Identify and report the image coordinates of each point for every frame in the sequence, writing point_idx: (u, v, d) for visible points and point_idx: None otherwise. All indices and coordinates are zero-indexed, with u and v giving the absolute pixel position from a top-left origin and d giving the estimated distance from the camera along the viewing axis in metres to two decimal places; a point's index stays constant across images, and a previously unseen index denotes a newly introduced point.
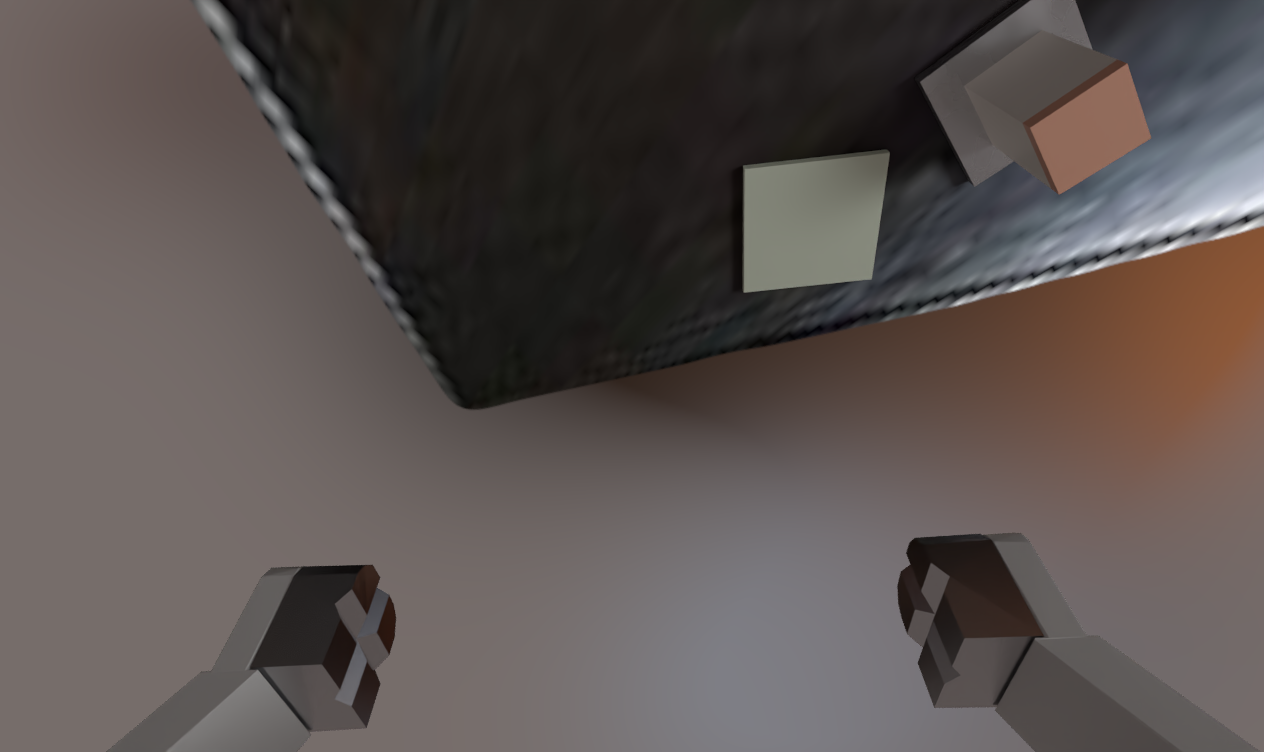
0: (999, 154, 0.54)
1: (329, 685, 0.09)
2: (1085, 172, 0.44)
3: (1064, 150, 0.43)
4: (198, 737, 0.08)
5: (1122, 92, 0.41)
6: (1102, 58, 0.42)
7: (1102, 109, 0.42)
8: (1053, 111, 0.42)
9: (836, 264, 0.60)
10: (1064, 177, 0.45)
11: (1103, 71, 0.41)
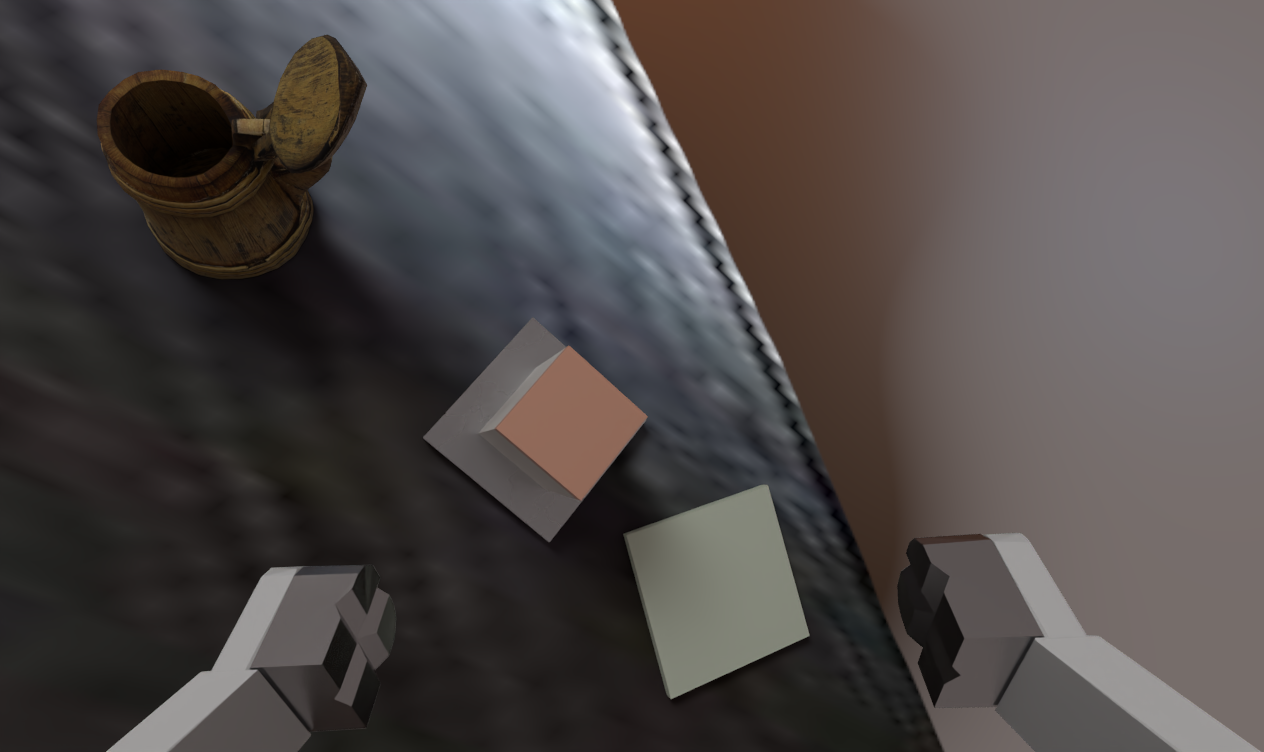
0: None
1: (329, 686, 0.09)
2: (618, 400, 0.36)
3: (598, 442, 0.36)
4: (198, 737, 0.08)
5: (526, 413, 0.35)
6: (495, 432, 0.36)
7: (547, 425, 0.35)
8: (559, 482, 0.35)
9: (758, 536, 0.50)
10: (627, 422, 0.36)
11: (508, 440, 0.35)
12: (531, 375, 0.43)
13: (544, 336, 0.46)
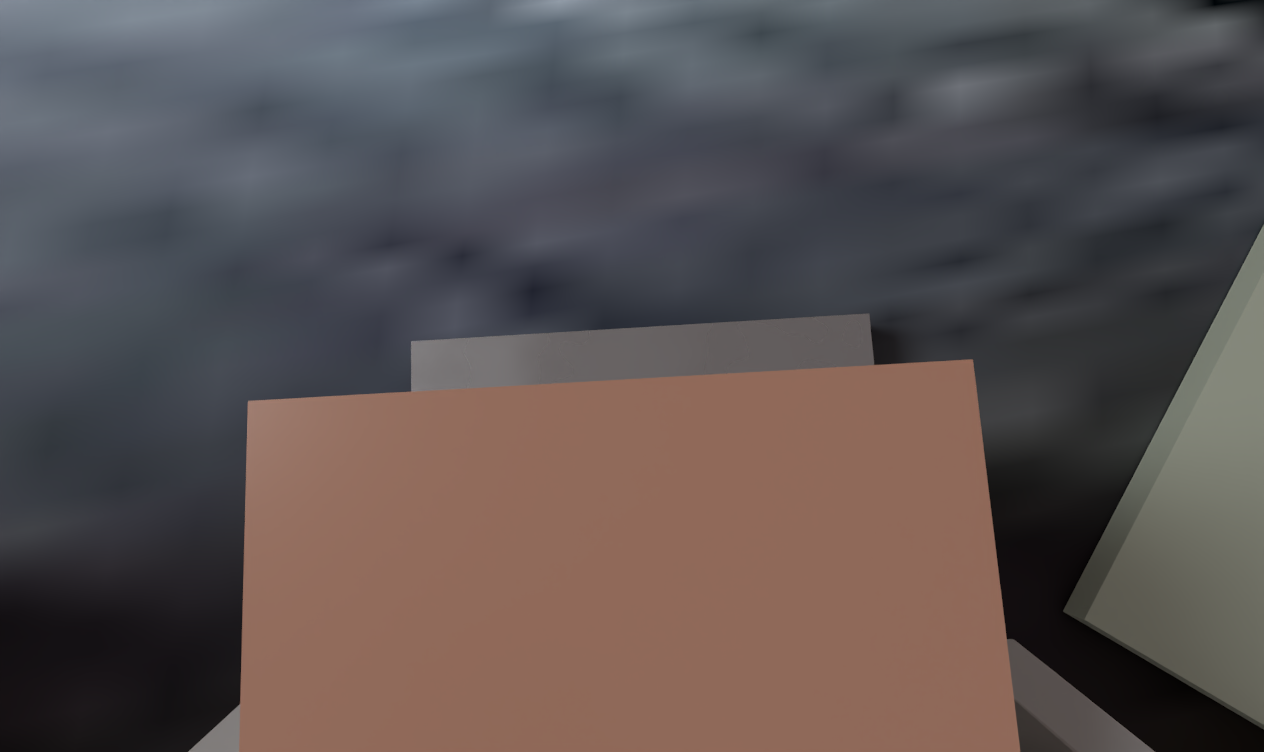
0: None
1: None
2: (738, 426, 0.05)
3: None
4: None
5: None
6: None
7: None
8: None
9: None
10: (900, 494, 0.05)
11: None
12: None
13: (471, 356, 0.16)
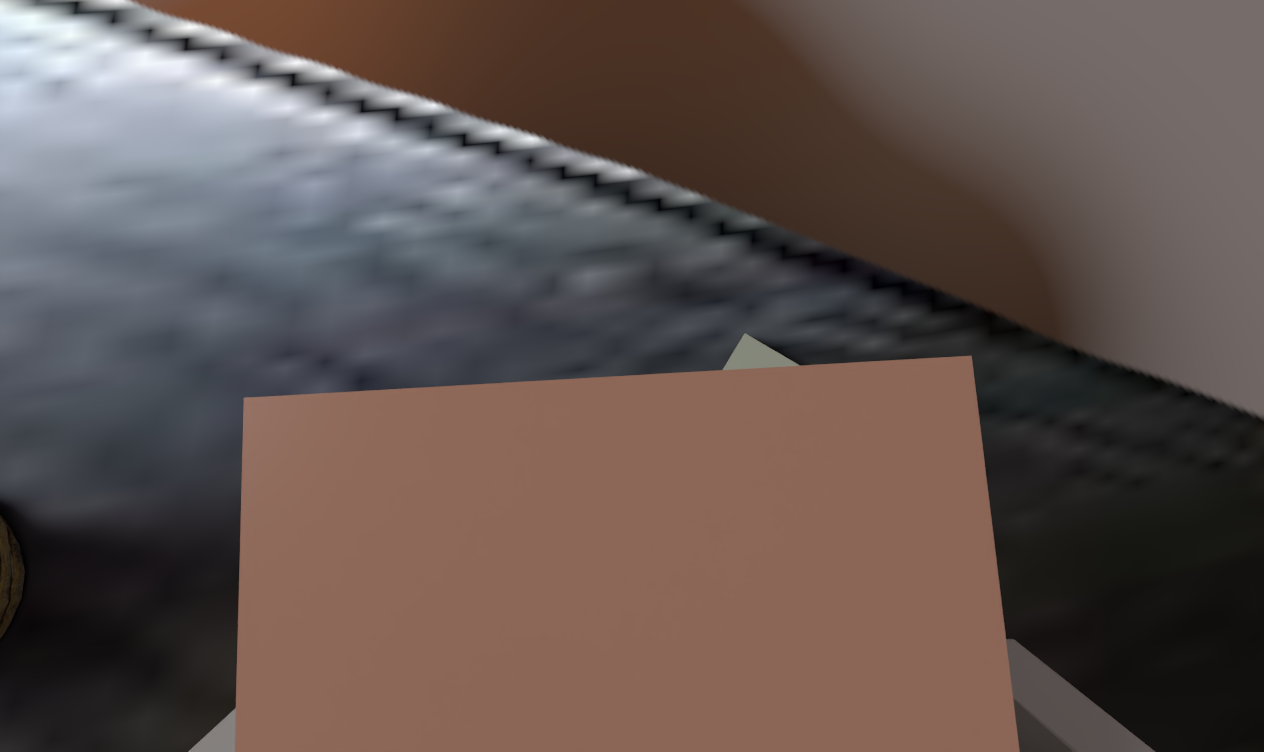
0: None
1: None
2: (735, 421, 0.05)
3: None
4: None
5: None
6: None
7: None
8: None
9: None
10: (898, 490, 0.05)
11: None
12: None
13: None
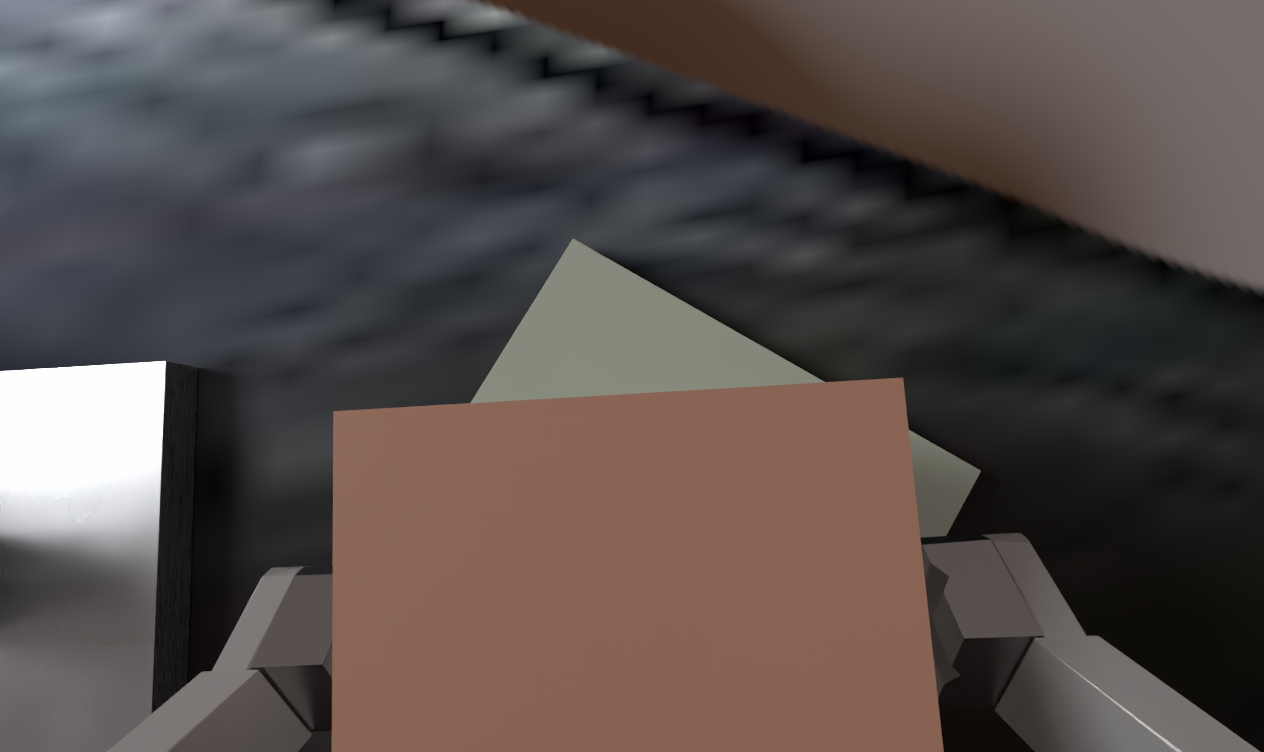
0: (67, 418, 0.17)
1: (329, 686, 0.09)
2: (719, 430, 0.07)
3: (805, 688, 0.06)
4: (199, 737, 0.08)
5: None
6: None
7: None
8: None
9: (645, 364, 0.17)
10: (845, 482, 0.07)
11: None
12: None
13: None
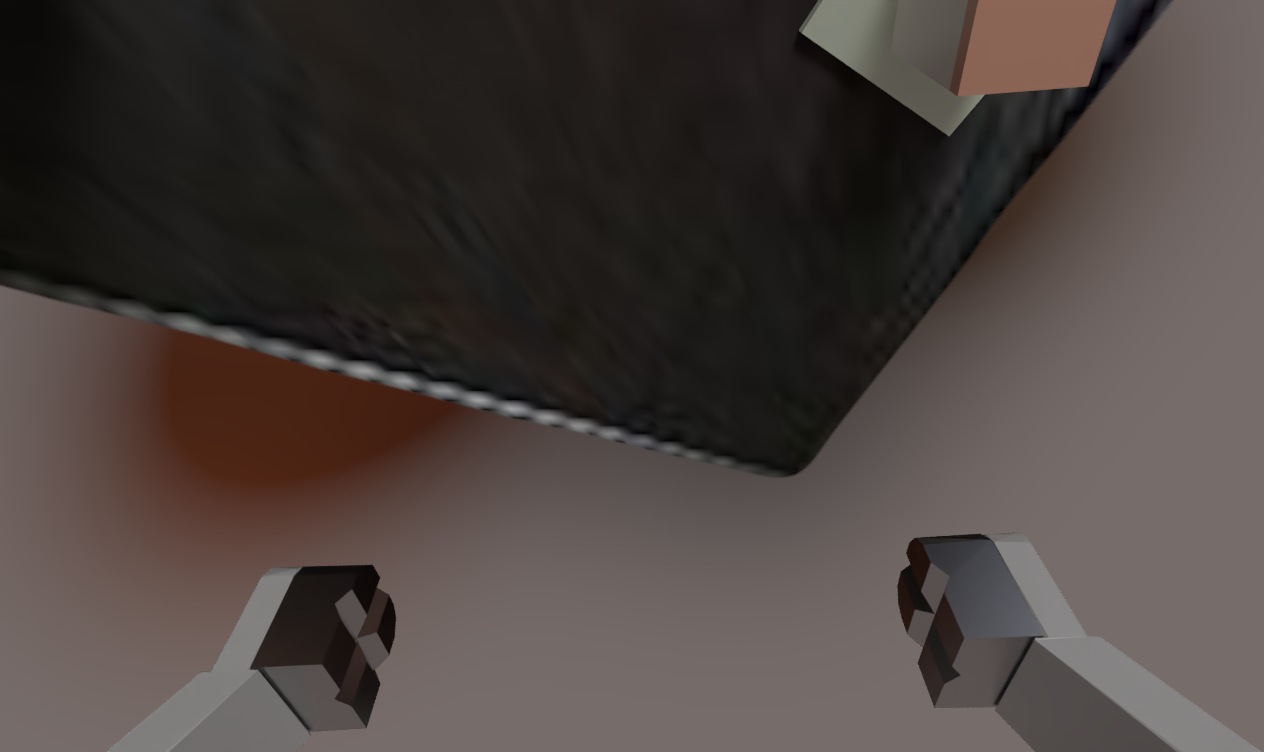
0: None
1: (329, 685, 0.09)
2: (1093, 41, 0.29)
3: (1030, 62, 0.30)
4: (198, 737, 0.08)
5: None
6: None
7: None
8: (964, 60, 0.30)
9: None
10: (1070, 72, 0.30)
11: None
12: None
13: None
